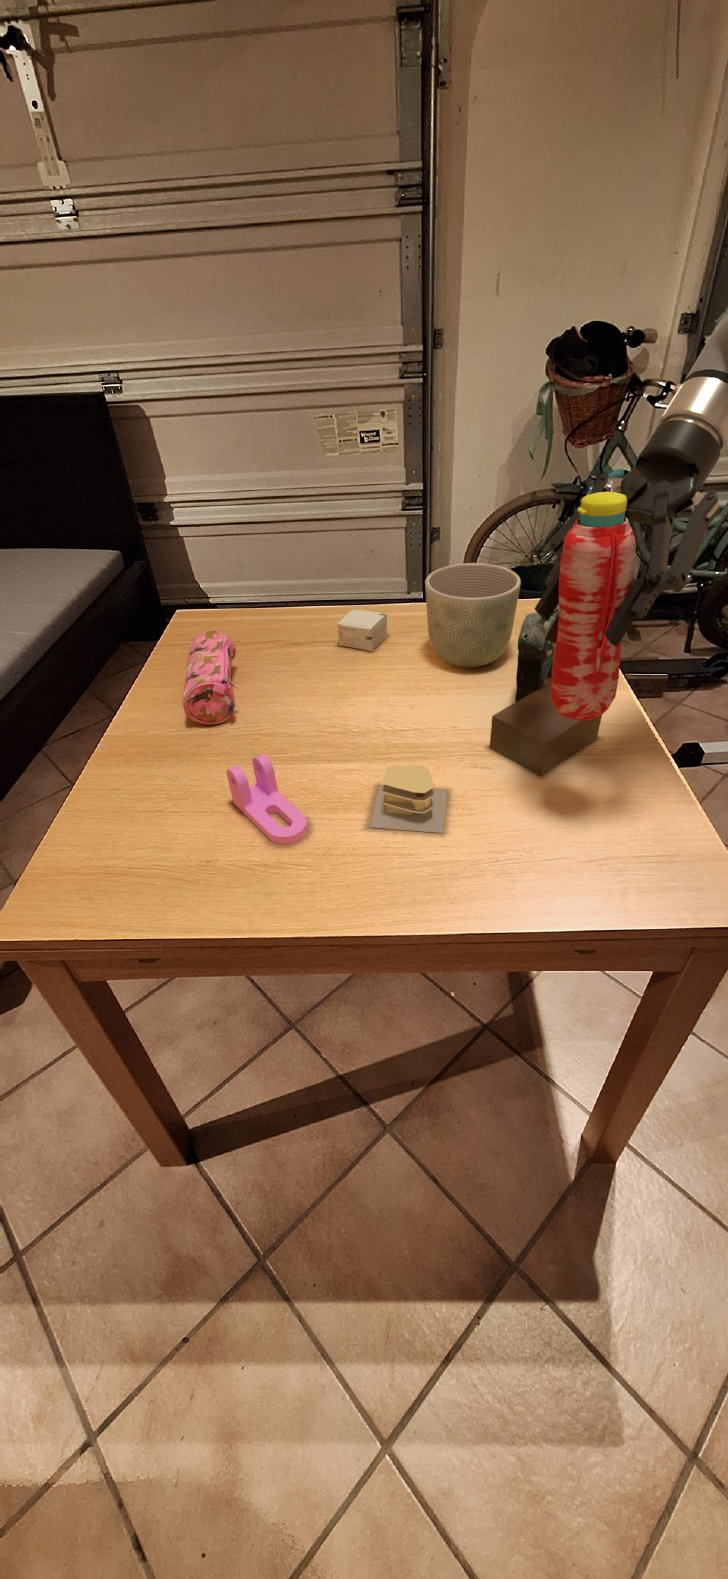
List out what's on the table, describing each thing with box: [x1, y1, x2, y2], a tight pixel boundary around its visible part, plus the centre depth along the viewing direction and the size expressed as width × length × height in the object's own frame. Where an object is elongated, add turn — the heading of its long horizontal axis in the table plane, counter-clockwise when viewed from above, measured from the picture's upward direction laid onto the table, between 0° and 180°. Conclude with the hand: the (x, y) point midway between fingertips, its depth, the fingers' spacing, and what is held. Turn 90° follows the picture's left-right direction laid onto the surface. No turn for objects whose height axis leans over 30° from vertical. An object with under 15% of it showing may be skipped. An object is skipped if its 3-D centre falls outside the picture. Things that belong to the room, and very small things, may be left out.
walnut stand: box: [489, 682, 603, 777], centre depth 98 cm, size 10×14×6 cm
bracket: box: [226, 753, 308, 846], centre depth 87 cm, size 13×6×7 cm, turn 38°
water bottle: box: [544, 492, 637, 720], centre depth 72 cm, size 12×8×25 cm, turn 2°
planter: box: [424, 562, 522, 668], centre depth 118 cm, size 17×17×15 cm
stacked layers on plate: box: [369, 765, 448, 834], centre depth 87 cm, size 10×9×6 cm
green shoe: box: [514, 604, 559, 703], centre depth 105 cm, size 20×6×20 cm, turn 151°
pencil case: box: [182, 629, 237, 725], centre depth 114 cm, size 21×9×9 cm, turn 10°
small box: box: [336, 608, 388, 653], centre depth 129 cm, size 8×8×5 cm
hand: (574, 626), depth 71 cm, fingers closed on water bottle, 8 cm apart
